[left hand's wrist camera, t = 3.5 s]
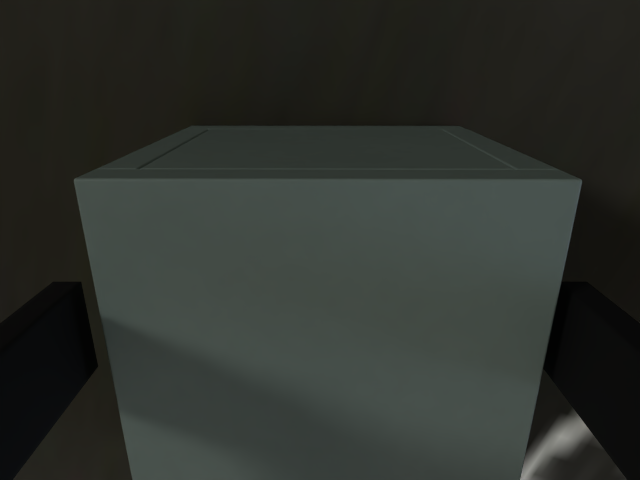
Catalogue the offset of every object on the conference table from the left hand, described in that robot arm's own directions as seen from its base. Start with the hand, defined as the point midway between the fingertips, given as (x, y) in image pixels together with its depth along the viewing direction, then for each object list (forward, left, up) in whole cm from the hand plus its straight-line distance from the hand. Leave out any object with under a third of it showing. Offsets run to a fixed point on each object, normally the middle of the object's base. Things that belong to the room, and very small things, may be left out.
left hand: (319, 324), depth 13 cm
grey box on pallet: (+2, +4, -9) cm, 10 cm away
